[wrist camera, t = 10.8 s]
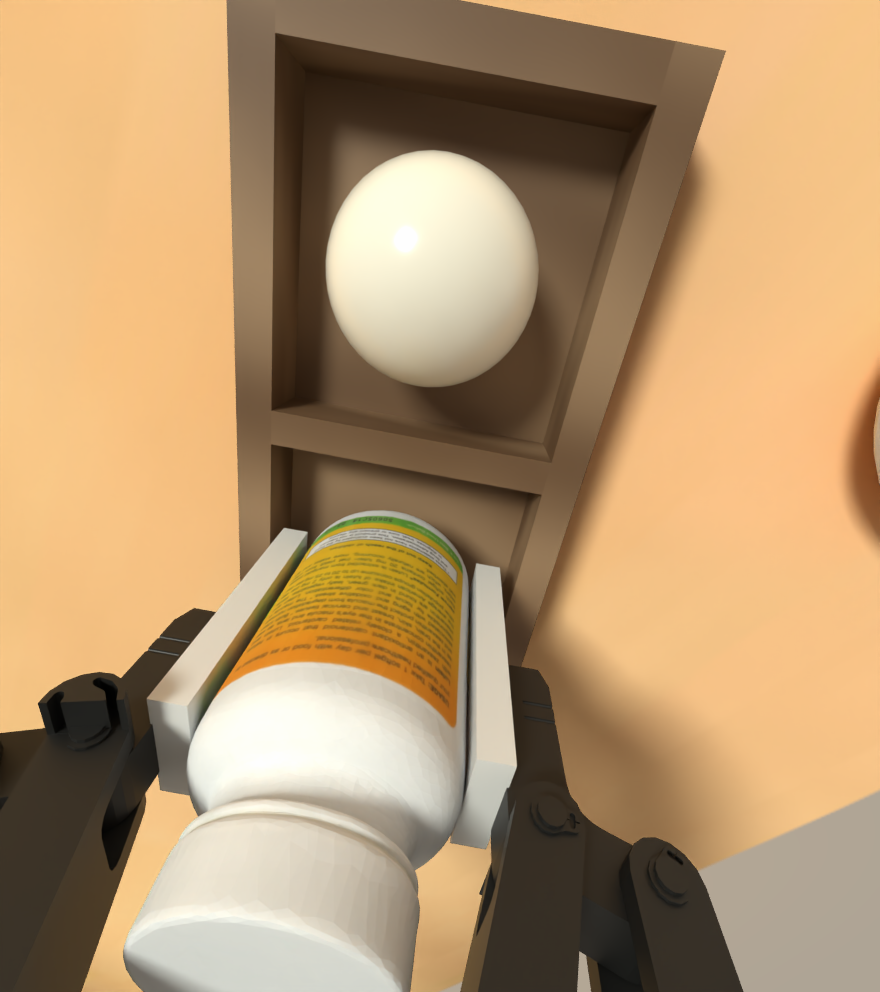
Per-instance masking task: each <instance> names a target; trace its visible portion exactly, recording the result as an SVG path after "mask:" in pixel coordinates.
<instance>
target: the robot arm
mask: <svg viewBox="0 0 880 992" xmlns="http://www.w3.org/2000/svg"><path fill="white" fill-rule="evenodd" d="M307 536H308V532H304V531H299V530H294V529H288V528H284V529H283V530H282V531H281V532H280V533H279V535H278V536H277V537H276V538H275V540H274V541H273V542H272V543H271V545H270V546H269V547H268V548H267V550H266V551H265V552H264V553H263V555H262V556H261V557H260V558H259V560H258V561H257V562H256V563H255V565H254V566H253V567H252V568H251V570H250V571H249V572H248V573H247V575H246V576H245V577H244V578H243V579H242V581H241V582H240V583H239V584H238V586H237V587H236V588H235V589H234V591H233V592H232V593H231V594H230V596H229V597H228V598H227V599H226V601H225V602H224V603H223V604H222V606H221V607H220V608H219V609H218V611H217V612H212V611H207V610H201V609H196V608H194V609H192V610H190V611H189V612H187V613H185V614H184V615H182V616H180V617H178V618H177V619H175V620H174V621H173V622H172V623H171V624H170V625H169V626H168V627H167V629H166V630H165V631H164V632H163V633H162V634H161V635H160V638H159V639H158V638H157V639H156V641H155V642H154V643H153V644H152V645H151V646H150V647H149V649H148V651H147V652H145V653H144V654H143V655H142V656H141V657H140V658H139V659H138V660H137V661H136V662H135V664H134V665H133V666H132V667H131V668H130V669H129V670H128V671H127V672H126V673H125V675H124V676H123V677H122V678H119V677H118V676H116V675H114V674H110V673H102V672H97V673H90V674H84V675H80V676H78V677H75V678H72V679H70V680H67V681H65V682H63V683H61V684H60V685H58V686H57V687H55V688H54V689H52V690H50V691H49V692H48V693H47V694H46V695H45V696H44V697H43V698H42V699H41V701H40V702H39V703H38V705H39V709H40V712H41V715H42V719H43V722H44V725H45V728H43V729H34V730H25V731H16V732H7V733H0V992H81V991H82V988H83V985H84V982H85V979H86V977H87V974H88V971H89V968H90V965H91V962H92V960H93V957H94V954H95V951H96V948H97V945H98V943H99V940H100V937H101V934H102V931H103V928H104V926H105V923H106V920H107V917H108V914H109V911H110V909H111V906H112V903H113V900H114V897H115V894H116V892H117V889H118V886H119V883H120V880H121V877H122V875H123V872H124V869H125V866H126V863H127V860H128V858H129V855H130V852H131V849H132V846H133V843H134V841H135V838H136V835H137V832H138V829H139V826H140V824H141V821H142V818H143V815H144V812H145V805H146V796H145V793H146V791H147V790H148V788H149V787H150V785H151V784H152V782H153V781H154V779H155V778H156V776H157V775H158V778H159V784H160V790H162V791H168V792H173V793H179V794H184V795H189V790H188V785H187V774H186V768H187V759H188V754H189V749H190V745H191V742H192V739H193V736H194V734H195V731H196V729H197V727H198V726H199V724H200V722H201V720H202V718H203V717H204V715H205V713H206V712H207V710H208V708H209V706H210V704H211V702H212V701H213V699H214V697H215V696H216V694H217V693H218V691H219V689H220V688H221V686H222V685H223V683H224V682H225V680H226V679H227V677H228V676H229V674H230V672H231V671H232V669H233V668H234V666H235V665H236V663H237V662H238V660H239V659H240V657H241V655H242V654H243V652H244V651H245V649H246V648H247V646H248V645H249V643H250V641H251V640H252V638H253V637H254V635H255V634H256V632H257V630H258V629H259V627H260V626H261V624H262V622H263V620H264V619H265V618H266V616H267V614H268V612H269V611H270V609H271V608H272V606H273V605H274V604H275V602H276V600H277V599H278V597H279V596H280V594H281V593H282V591H283V590H284V588H285V587H286V585H287V583H288V582H289V580H290V578H291V577H292V575H293V574H294V572H295V570H296V569H297V567H298V566H299V564H300V562H301V561H302V559H303V558H304V556H305V554H306V553H307ZM490 837H491V858H492V863H491V865H490V868H489V870H488V873H487V875H486V878H485V880H484V883H483V886H482V888H481V891H480V893H479V894H480V895H482V898H481V903H480V907H479V912H478V916H477V921H476V925H475V929H474V934H473V938H472V943H471V947H470V951H469V956H468V960H467V965H466V969H465V974H464V978H463V982H462V987H461V991H460V992H577V981H578V964H579V951H580V952H582V953H583V954H585V955H586V956H587V965H588V972H589V978H590V986H591V992H743V989H742V987H741V984H740V981H739V978H738V975H737V973H736V970H735V967H734V964H733V961H732V959H731V956H730V953H729V950H728V948H727V945H726V942H725V939H724V936H723V934H722V931H721V928H720V925H719V922H718V920H717V917H716V914H715V911H714V908H713V906H712V903H711V900H710V897H709V894H708V892H707V889H706V887H705V885H704V883H703V881H702V879H701V877H700V875H699V873H698V871H697V869H696V868H695V867H694V866H693V864H692V863H691V862H690V861H689V860H688V858H687V857H686V856H685V855H684V854H683V853H682V852H680V851H679V850H678V849H676V848H675V847H674V846H673V845H671V844H670V843H668V842H665V841H663V840H660V839H658V838H642V839H640V840H639V841H637V842H636V843H634V844H633V846H632V845H631V844H629V843H627V842H625V841H623V840H621V839H619V838H617V837H616V836H614V835H612V834H610V833H608V832H606V831H604V830H602V829H601V828H599V827H598V826H596V825H595V824H593V823H592V822H591V821H590V820H589V819H588V818H587V817H585V816H584V815H583V814H582V812H581V811H580V809H579V807H578V805H577V803H576V802H575V801H574V800H573V799H572V797H571V795H570V794H569V790H568V787H567V784H566V779H565V773H564V768H563V763H562V757H561V752H560V746H559V741H558V735H557V730H556V725H555V719H554V713H553V710H552V702H551V697H550V692H549V687H548V685H547V684H546V682H545V681H544V679H543V677H542V676H541V674H540V673H539V671H538V670H534V669H529V668H524V667H518V666H513V665H508V656H507V645H506V633H505V621H504V610H503V598H502V587H501V575H500V568H499V567H494V566H488V565H483V564H477V563H476V567H475V571H474V575H473V579H472V583H471V588H470V592H469V633H468V678H467V728H466V769H465V780H464V793H463V800H462V806H461V810H460V814H459V817H458V820H457V823H456V825H455V827H454V829H453V831H452V834H451V841H450V843H454V844H459V845H465V846H470V847H476V848H481V849H486V848H487V845H488V842H489V840H490Z"/></svg>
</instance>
